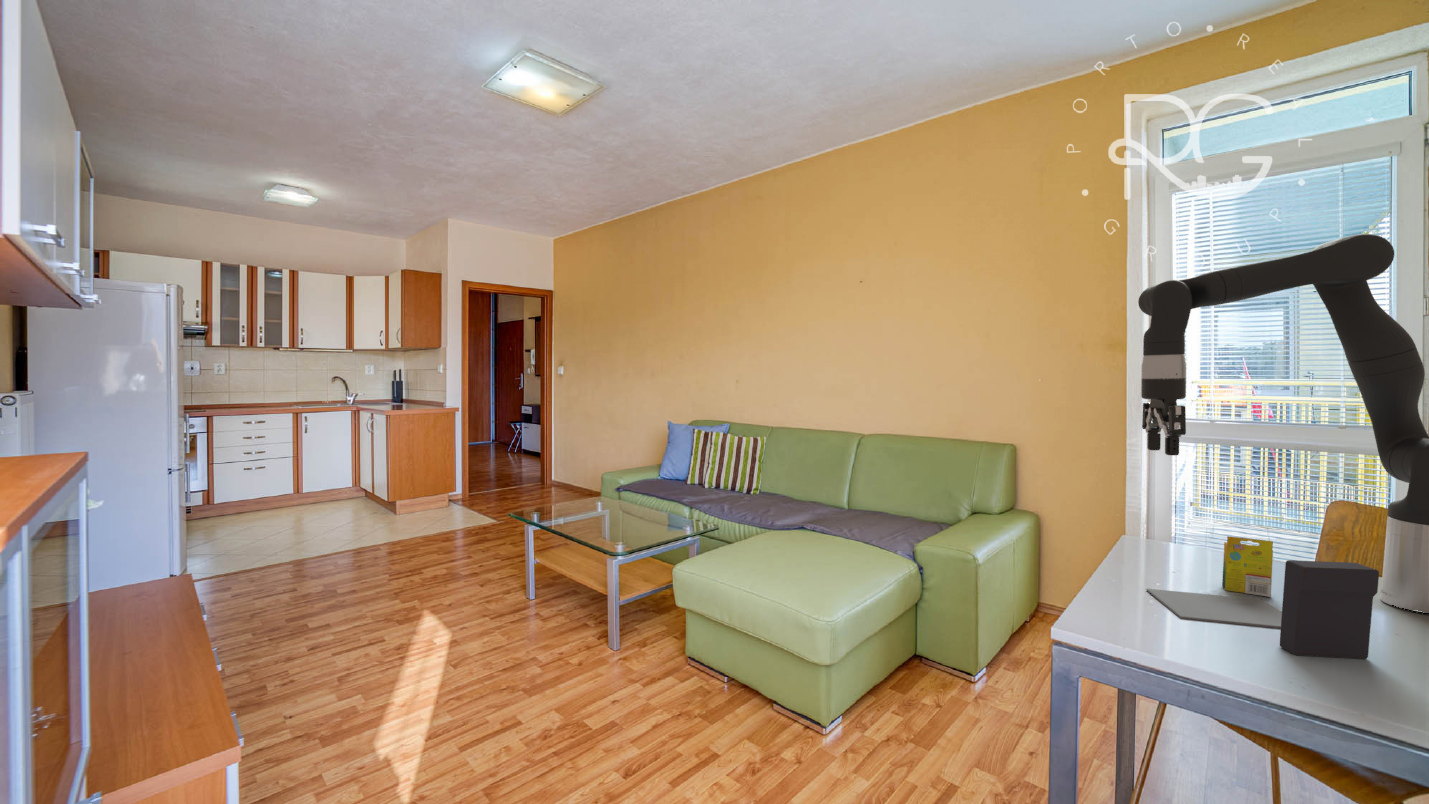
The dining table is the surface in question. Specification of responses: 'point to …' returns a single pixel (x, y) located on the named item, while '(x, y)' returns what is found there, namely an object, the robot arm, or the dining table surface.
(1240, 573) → the crayon box
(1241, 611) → the mat
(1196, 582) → the dining table surface
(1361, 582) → the black square block
